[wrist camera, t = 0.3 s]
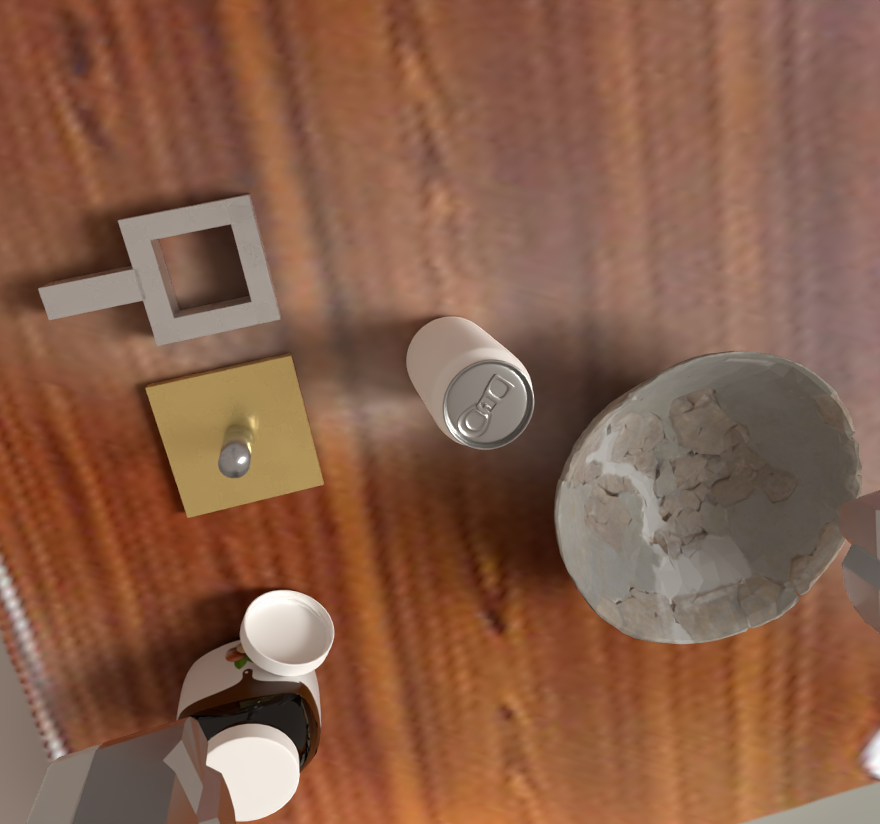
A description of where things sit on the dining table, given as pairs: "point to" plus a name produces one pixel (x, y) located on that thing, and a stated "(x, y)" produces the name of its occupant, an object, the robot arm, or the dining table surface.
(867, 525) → the robot arm
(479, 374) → the can
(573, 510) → the ceramic bowl
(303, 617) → the spread jar
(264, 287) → the grey square frame handle
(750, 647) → the dining table surface
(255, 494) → the post
